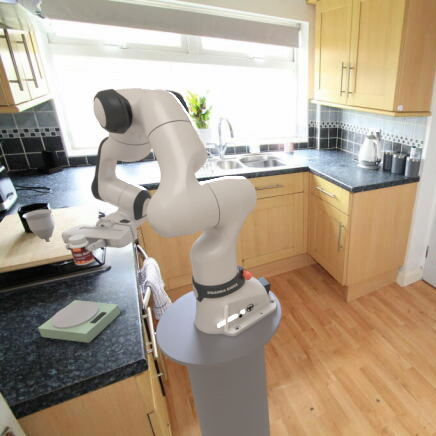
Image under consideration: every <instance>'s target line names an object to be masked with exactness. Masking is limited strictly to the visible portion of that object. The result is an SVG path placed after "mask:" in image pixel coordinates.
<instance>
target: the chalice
mask: <svg viewBox="0 0 436 436" xmlns="http://www.w3.org/2000/svg"><path fill="white" fill-rule="evenodd" d="M22 218H24V219H26V223H27V225H28V227H29V230H30V231H31V232H32V233H33V234H34V235H35V236H36V237H38V238H39V239H40V240H45V243H46V242H51V240H50V238H52V237H53V233H54V230H55V222H54V219H53V217H52V210H51V209H36V210H32V211H29V212H26V213H24V214H23V215H22Z"/></svg>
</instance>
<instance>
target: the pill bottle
mask: <svg viewBox="0 0 436 436" xmlns="http://www.w3.org/2000/svg"><path fill="white" fill-rule="evenodd" d="M69 243H70V245H69V247H70V250H69V251H70V253H71V255H72V259H73V261H74V264H75V265H76V266H87V265H88V264H91V263H93V262H94V260H95V257H94V254H93V251H91V252H89V251H85V246H86V245H88V244H89V241H87V240H86V236H85V235H84V234H78V235H74V236H71V237H70V238H69Z"/></svg>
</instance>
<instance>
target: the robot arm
mask: <svg viewBox="0 0 436 436" xmlns="http://www.w3.org/2000/svg"><path fill="white" fill-rule="evenodd" d="M188 105H189V104H188V102H187V100H186V98H185V97H184V96H183V95H182V94H181V93H179V92H178V91H174V90H169V89H160V88H157V89H155V88H154V89H153V88H151V89H150V88H142V87H141V88H140V87H138V88H137V87H135V88H131V87H130V88H121V89H120V88H119V89H114V88H107V89H103V90H99V91H98V92H97V93H96V94H95V95H94V97H93V107H92V108H93V114H94V116H95V118H96V120H97V121H98V123H99V125H100V126H101V128H102V129H103V130H105V131H106V132H108V136H106V137H104V138H103V139H102V140H101V141H100V143H99V144H98V148H97V153H96V161H95V169H94V176H93V180H92V182H91V185H90V191H91V194H92V196H93V197H94V199H96V200H98V201H101V202H104V203H107V204H110V205H112V206H114V207H116V208H117V210H116V211H115V212H111V213H109V214H107V215H106V216H103V217H101V218H99V219H98V220H97V221H96V224H95V225H94V224H80V225H76V226H74V227H71V228H69V229H66V230H64V231H62V233H61V238H62V241H63V243H64V244H65V248H66V249H65V250H67V251H71V250H70V247H69V245H70V243H69V238H70V237H71V236H74V235H78V234H84V235H85V236H86V240H87V241H89V244H88V245H86V246H85V251H89V252H91V251H92V252H94V251H95V250H97V249H102V248H113V249H122V248H125V247H127V246H128V245H131V243H133V242H134V241H136V240H138V238H139V237H138V231H137V229H138V228H140V227H141V226H143V225H144V224H145V223H146V222H148V223H149V226H150V227H151V228H152V230H153V231H154V232H155V233H156V234H158V235H159V236H161V237H162V238H164V239H165V238H166V239H170V238H172V239H173V238H179V237H186V236H191V235H193V234H197V233H200V232H202V231H203V232H202V233H201V235H199V237H198V238H197V239H196V240H195V241H194V242H193V244H192V245H191V247H190V250H189V258H190V265H191V270H192V276H191V282H192V286H191V287H192V291H194V296H195V298H196V314H195V319H194V323H195V326H196V327H197V329H198V330H200V331H201V332H204V333H207V334H224V335H227V336H231V337H234V336H237V335H238V334H240V333H241V332H243V331H244V330H246V329H247V328H249V327H251V326H252V325H254V324H255V323H257V322H258V321H260V320H261V319H263V318H264V317H266V316H268V315H269V314H271V313H272V312H274V311H275V310H276V309H277V305H276V300H275V298H274V297H273V295H272V294H271V293H270V292H269V291H271V283H270V281H268V280H267V279H266V278H265V277H263V276H261V277H258V278H256V277H255V276H253V274H252V273H251V272H250V271H249V270H245V267H243V266H242V265H240V264H239V263H238V251H237V250H238V249H237V248H238V241H239V237H240V233H241V231H242V228H243V226H244V224H245V221H246V220H247V218H248V217H249V216H250V215H251V214H252V212H253V211H254V210H255V208H256V206H257V202H258V195H257V194H258V193H257V190H256V188H255V186H254V184H253V183H252V182H251V181H250V180H249V178H246V177H245V176H222V177H218V178H212V179H209V180H208V179H207V180H204V181H199V180H198V179H197V177H196V173H197V172H199V170H200V169H201V168H202V167H204V165H205V164H206V162H207V160H208V150H207V148H206V146H205V143H204V142H203V140H202V138H201V135H200V134H199V132H198V130H197V128H196V126H195V124H194V122H193V120H192V118H191V117H190V109H189V106H188ZM151 152H152V153H153V154H154V156H155V158H156V162H157V164H158V166H159V171H160V181H159V185H158V187H157V189H156V191H155V193H154V194H153V195H151V192H150V191H149V189H147V188H145V187H143V186H141V185H138V184H136V183H133V182H131V181H129V180H127V179H124V178H123V177H121V176H120V175H118V173H117V172H116V169H117V163H118V162H125V163H133V162H134V163H135V162H137V161H141V160H143V159H145V158H147V157H148V156H149V155H150V153H151ZM237 329H238V330H237Z"/></svg>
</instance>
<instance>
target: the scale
mask: <svg viewBox="0 0 436 436" xmlns="http://www.w3.org/2000/svg"><path fill="white" fill-rule="evenodd" d="M120 314H121V310H120V306H119V304H117V303H105V302H98V301H91V300H81V299H80V300H78V299H74V300H73V301H71V302H70V303H69V304H68V305H66V306H65V307H63V308H61V309H60V310H59V311H57V312H56V313H55V314H54V315H53V316H51V317H50V318H49V319H48V320H46V321H45V322H44V323H42V324H41V325H40V326H39V327H37V330H38V332H39V333H40V336H41V338H46V339H55V340H62V341H71V342H79V343H86V344H87V343H88V344H90V343H91V342H92V341H93V340H94V339H95V338H96V337H97V336H98V335H99V334H100V333H102V331H104V330H105V328H107V327H108V326H109V325H110V324H111V323H112V322H113V321H114V320H115V319H116V318H117V317H118V316H119V315H120Z"/></svg>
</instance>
